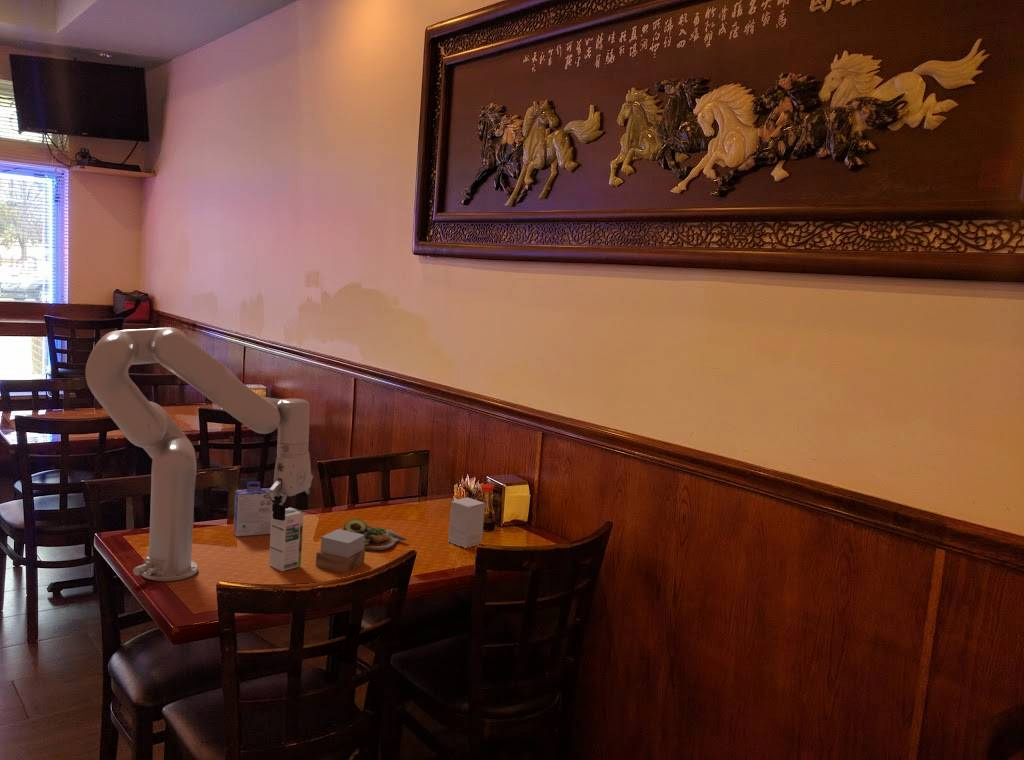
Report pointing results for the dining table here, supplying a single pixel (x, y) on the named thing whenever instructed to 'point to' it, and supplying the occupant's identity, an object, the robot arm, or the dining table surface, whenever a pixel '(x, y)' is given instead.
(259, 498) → the ink cartridge box
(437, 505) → the dining table surface
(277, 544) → the syrup box
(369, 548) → the salad plate
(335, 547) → the grey block
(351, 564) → the walnut block
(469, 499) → the supplement box
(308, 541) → the dining table surface
